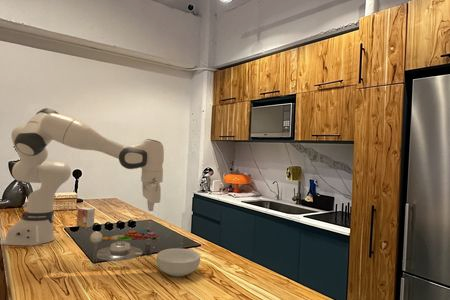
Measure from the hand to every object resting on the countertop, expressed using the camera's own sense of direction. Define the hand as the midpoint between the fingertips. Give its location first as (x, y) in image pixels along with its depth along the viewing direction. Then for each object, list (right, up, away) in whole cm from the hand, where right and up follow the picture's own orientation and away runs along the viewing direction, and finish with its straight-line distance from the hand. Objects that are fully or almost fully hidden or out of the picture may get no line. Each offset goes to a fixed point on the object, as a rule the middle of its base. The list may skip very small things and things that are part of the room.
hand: (150, 210), depth 133 cm
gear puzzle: (-20, -22, +31) cm, 43 cm away
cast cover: (-14, -19, +5) cm, 25 cm away
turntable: (-13, -21, +5) cm, 25 cm away
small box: (-51, -20, +53) cm, 76 cm away
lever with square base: (-20, -20, -9) cm, 30 cm away
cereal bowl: (+13, -22, -10) cm, 28 cm away
